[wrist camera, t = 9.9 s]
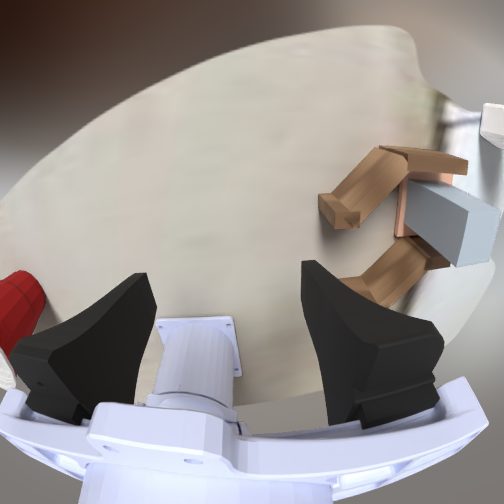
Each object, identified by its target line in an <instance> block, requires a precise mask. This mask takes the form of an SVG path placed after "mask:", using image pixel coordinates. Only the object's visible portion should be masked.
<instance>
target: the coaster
mask: <svg viewBox="0 0 504 504" xmlns="http://www.w3.org/2000/svg"><path fill="white" fill-rule="evenodd" d="M452 177H453V174H447V173H434V172H418V171H410V172H409V173H408V174H407V175H406V176H405V177H404V178H403V179H402V180H401V182H400V183H399V196H398V206H397V216H396V224H395V232H394V234H395V235H396V236H397V237H400V236H413V235H418V234H417V233H416V232H415V231H413V230H412V229H411V228H410V227H408V226H407V225H406V224H405V223H404V215H405V206H406V197H407V185H408V179H421V180H441V181H443V182H446V183H448V184H450V185H452Z"/></svg>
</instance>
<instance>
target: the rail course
mask: <svg viewBox="0 0 504 504" xmlns="http://www.w3.org/2000/svg"><path fill="white" fill-rule="evenodd" d="M467 169H468V160H465V159H462V158H459V157H456V156H453V155H449V154H446V153H443V152H439V151H435V150H427V149H417V148H407V147H395V146H379V148H374V149H373V150H372V151H371V152H370V153H369V154H368V155H367V156H366V157H365V158H364V159H363V160H362V161H361V162H360V163H359V165H358V166H357V167H356V168H355V169H354V170H353V171H352V172H351V173H350V174H349V175H348V176H347V177H346V178H345V179H344V180H343V181H342V182H341V183H340V184H339V186H338V187H337V188H336V189H335V190H334V191H333V192H332V193H327V194H318V208H319V210H320V211H321V212H322V213H323V215H324V216H325V217H326V219H327V220H328V221H329V222H330V224H331V225H332V226H333V228H334V229H350V228H353V229H354V230H355V229H356V228H359V227H360V224H361V223H362V222H363V221H364V220H365V219H366V218H367V217H368V215H369V214H370V213H371V212H372V211H373V210H374V209H375V208H376V207H377V206H378V205H379V204H380V203H381V202H382V201H383V200H384V199H385V198H386V197H387V196H388V195H389V193H390V192H391V191H392V190H393V189H394V188H395V187H396V186H397V185H398V184H399V183H400V182H401V180H402V179H403V178H404V177H405V176H406V175H407V174H408V173H409V172H410V171H418V172H434V173H447V174H458V175H467ZM450 264H451V262H449V261H448V260H447V259H446V258H445V257H444V256H443V255H442V254H441V253H439V252H438V251H437V250H436V249H435V248H434V247H432V246H431V245H430V244H429V243H428V242H427V241H425V240H424V239H423V238H422V237H421V236H419V235H413V236H401V237H400V238H399V239H398V240H397V241H396V242H395V243H394V244H393V245H392V246H391V247H390V248H389V249H388V250H387V251H386V252H385V253H384V254H383V255H382V256H381V257H380V258H379V259H378V260H377V261H376V262H375V263H374V264H373V265H372V266H371V267H370V268H369V269H368V270H367V271H366V272H365V273H364V274H362V275H361V276H359V277H351V278H342V279H338V280H340V281H341V282H342V283H344V284H345V285H347V286H348V287H349V288H351V289H352V290H354V291H355V292H357V293H358V294H360V295H362V296H364V297H365V298H367V299H369V300H371V301H373V302H375V303H377V304H379V305H381V306H383V307H386V308H388V309H389V307H390V306H391V305H393V304H394V303H395V302H396V301H397V300H398V299H399V298H400V297H401V296H402V295H403V294H405V293H406V292H407V291H408V290H409V289H410V288H411V287H412V286H413V285H414V284H415V283H416V282H417V281H418V280H419V279H420V278H421V277H422V276H423V275H424V274H425V273H426V272H427V271H428V270H433V269H440V268H446V267H450Z"/></svg>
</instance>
